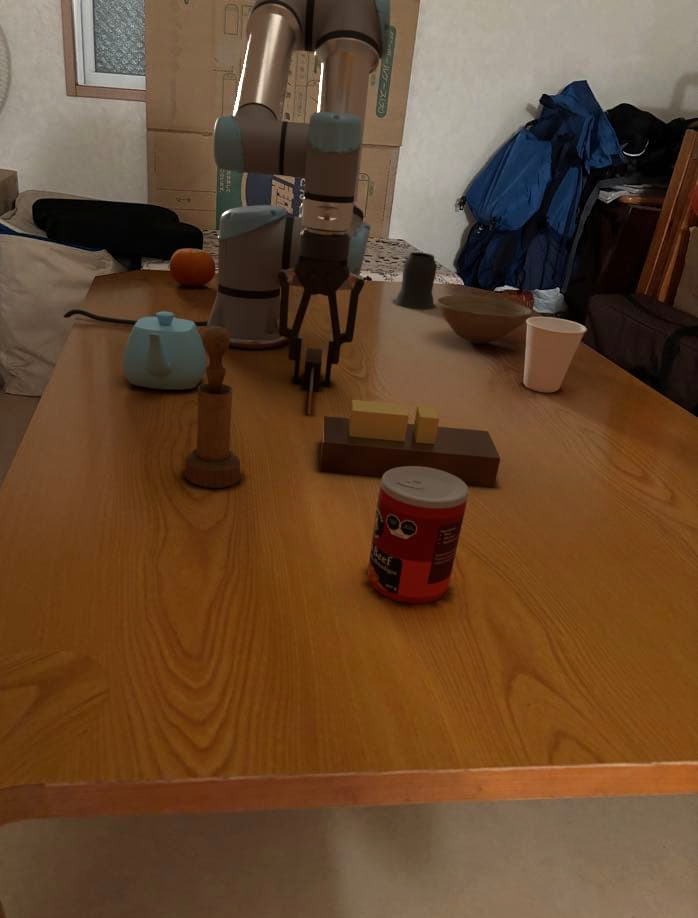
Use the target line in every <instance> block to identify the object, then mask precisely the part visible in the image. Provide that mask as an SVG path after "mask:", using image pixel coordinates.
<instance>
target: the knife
mask: <svg viewBox="0 0 698 918" xmlns="http://www.w3.org/2000/svg"><path fill="white" fill-rule="evenodd" d="M322 362H323V349H322V348H313V347H306V351H305V359H304V371H303V382H302V390H303V391H309V392H308V401H307V402H308V403H307V405H308V406H307V415H311V409H312V399H313V398H312V397H313V392H320V383H321V375H322Z"/></svg>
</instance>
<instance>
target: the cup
mask: <svg viewBox="0 0 698 918" xmlns="http://www.w3.org/2000/svg"><path fill="white" fill-rule="evenodd" d="M525 323H526V334H525V335H526V336H525V353H524V355H525V356H524V369H523V380H522V381H523V382H522V383H523V384H524V386H525V387H526V388H527V389H529V390H531V391H535V392H538V393H539V392H540V393H555V392H557V391H559V390H560V388H561V386H562V383H563V381H564V379H565V376H566V374H567V372H568V369H569V368H570V366H571V363H572V361H573V358H574V357H575V355H576V352H577V350H578V348H579V346H580V344H581V341H582V339H583V337H584V334H585V333H586V332H587V331H588V329H587V327H586V326H585V325H583V324H581V323H579V322H576V321H572V320H569V319H564V318H558V317H553V316H530V317H529V318H528V319H527V320H526V321H525Z"/></svg>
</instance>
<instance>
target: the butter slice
mask: <svg viewBox="0 0 698 918" xmlns="http://www.w3.org/2000/svg"><path fill="white" fill-rule="evenodd" d="M415 410H416V411H415V417H414V422H413V424H414V428H413V433H414V437H415V441H416V443H426V444H435V440H436V434H437V429H438V427H439V422H440V416H439V413H438V410H437V407H435V406H425V405H417V406H416V409H415Z"/></svg>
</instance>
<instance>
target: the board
mask: <svg viewBox="0 0 698 918" xmlns="http://www.w3.org/2000/svg"><path fill="white" fill-rule="evenodd" d="M349 421H350V417H349V418H348V417H339V416H329V415H324V416H323V422H322V431H321V432H322V433H321V440H320V462H319V465H320V466H319V472H324V473H325V472H326V473H335V474H336V473H337V474H345V475H346V474H347V475H357V476H358V475H359V476H368V477H369V476H370V477H379V478H382V477H383V475H384V473H386V472H387V471H389V470H391V469H394V468H397V467H404V466H421V467H428V468H434V469H438V470H442V471H444V472H447V473H450V474H452V475H454V476H456V477H458V478H459V479H461V480H462V481H463V482H464V483H465V484H466V485H467V486H478V487H479V486H480V487H489V488H494V487H495V485H496V484H495V483H496V480H497V476H498V471H499V467H500V462H501V456H500V453H499V451H498V449H497V447H496V445H495V443H494V440H493V439H492V437H491V434H490V432H489V431H488V430H480V429H469V428H468V429H467V428H460V427H459V428H458V427H446V426H438V429H437V434H436V440H435V444H426V443H416V441H415V437H414V433H413V428H414V423H408V424H407V430H406V436H405V441H393V440H382V439H372V438H361V437H350V436H349Z"/></svg>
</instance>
